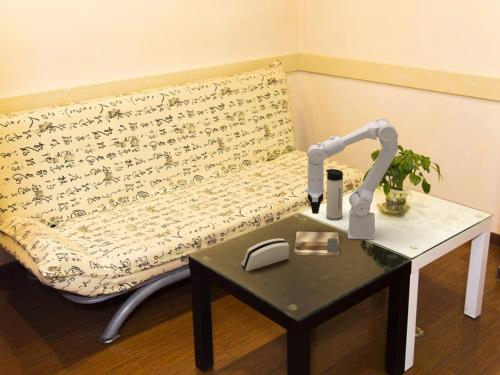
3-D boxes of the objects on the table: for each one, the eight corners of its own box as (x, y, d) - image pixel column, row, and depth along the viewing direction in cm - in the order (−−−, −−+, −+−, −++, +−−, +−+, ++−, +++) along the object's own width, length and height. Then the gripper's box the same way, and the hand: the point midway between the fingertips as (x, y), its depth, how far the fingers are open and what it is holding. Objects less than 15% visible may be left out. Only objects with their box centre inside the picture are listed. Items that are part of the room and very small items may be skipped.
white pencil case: (280, 252, 207) (285, 232, 201) (287, 261, 204) (293, 240, 198) (239, 265, 200) (243, 244, 194) (246, 275, 196) (250, 253, 190)
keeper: (337, 246, 208) (337, 238, 207) (337, 252, 204) (337, 244, 203) (327, 246, 209) (327, 238, 207) (327, 252, 204) (327, 244, 203)
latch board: (338, 234, 219) (338, 232, 219) (339, 255, 204) (339, 253, 203) (296, 234, 221) (296, 231, 221) (294, 254, 206) (294, 252, 205)
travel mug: (325, 214, 238) (326, 167, 231) (342, 214, 237) (343, 167, 230) (325, 220, 232) (325, 172, 225) (342, 220, 232) (343, 172, 224)
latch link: (295, 249, 207) (295, 244, 206) (295, 245, 210) (295, 239, 209) (339, 250, 205) (339, 244, 204) (338, 245, 208) (338, 240, 208)
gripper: (305, 171, 218) (305, 205, 223) (303, 185, 205) (303, 220, 210) (324, 171, 217) (323, 205, 222) (324, 185, 204) (323, 221, 209)
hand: (315, 213), depth 216 cm, fingers closed
